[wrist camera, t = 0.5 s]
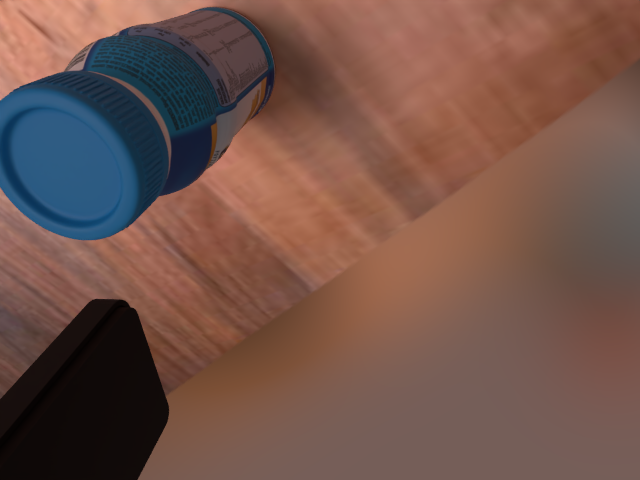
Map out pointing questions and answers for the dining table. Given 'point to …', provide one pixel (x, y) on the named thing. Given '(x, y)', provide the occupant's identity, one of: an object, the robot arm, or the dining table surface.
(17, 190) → the beverage bottle
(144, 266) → the dining table surface
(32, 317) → the dining table surface
